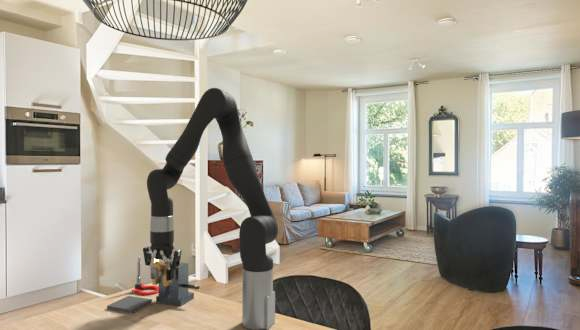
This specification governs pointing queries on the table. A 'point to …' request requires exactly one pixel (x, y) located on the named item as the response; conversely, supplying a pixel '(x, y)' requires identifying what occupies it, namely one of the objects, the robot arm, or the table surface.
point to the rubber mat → (129, 304)
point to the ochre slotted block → (163, 267)
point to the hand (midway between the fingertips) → (162, 279)
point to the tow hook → (140, 286)
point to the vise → (174, 286)
